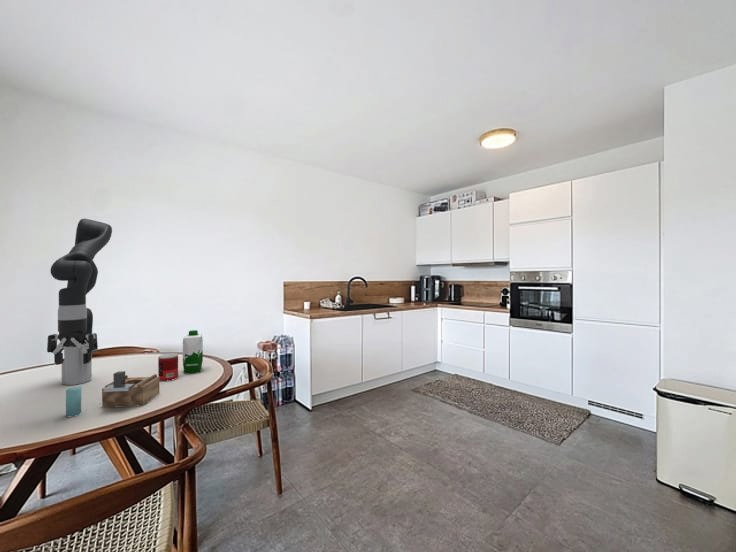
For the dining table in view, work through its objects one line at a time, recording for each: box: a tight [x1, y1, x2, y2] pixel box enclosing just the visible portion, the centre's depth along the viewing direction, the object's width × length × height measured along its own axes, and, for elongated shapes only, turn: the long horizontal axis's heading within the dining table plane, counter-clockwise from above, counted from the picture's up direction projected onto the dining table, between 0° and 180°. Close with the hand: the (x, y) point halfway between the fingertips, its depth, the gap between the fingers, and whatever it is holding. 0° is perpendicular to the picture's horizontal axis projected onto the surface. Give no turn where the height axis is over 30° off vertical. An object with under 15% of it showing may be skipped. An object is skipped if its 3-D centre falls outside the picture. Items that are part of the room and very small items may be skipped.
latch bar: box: [103, 371, 135, 392], centre depth 117 cm, size 8×4×6 cm, turn 98°
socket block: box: [101, 373, 160, 408], centre depth 125 cm, size 14×12×8 cm
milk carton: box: [182, 329, 204, 375], centre depth 161 cm, size 9×9×20 cm
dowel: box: [65, 386, 82, 418], centre depth 113 cm, size 4×4×9 cm
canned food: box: [157, 352, 179, 382], centre depth 150 cm, size 8×8×11 cm
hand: (73, 363), depth 112 cm, fingers open, 8 cm apart
